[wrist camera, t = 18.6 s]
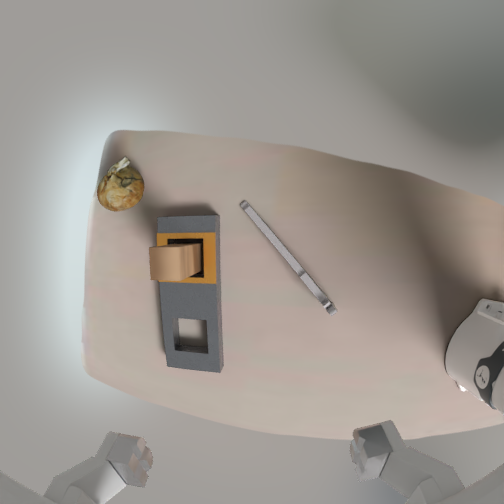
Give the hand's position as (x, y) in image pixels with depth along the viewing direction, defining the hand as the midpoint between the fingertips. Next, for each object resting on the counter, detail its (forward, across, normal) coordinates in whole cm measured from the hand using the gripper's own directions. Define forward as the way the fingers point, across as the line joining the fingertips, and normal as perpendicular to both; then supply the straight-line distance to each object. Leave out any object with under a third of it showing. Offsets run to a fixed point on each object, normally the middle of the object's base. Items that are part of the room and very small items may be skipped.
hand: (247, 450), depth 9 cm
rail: (+34, +10, +6) cm, 36 cm away
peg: (+35, +9, 0) cm, 36 cm away
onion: (+38, +19, -11) cm, 44 cm away
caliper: (+34, -5, +1) cm, 34 cm away
